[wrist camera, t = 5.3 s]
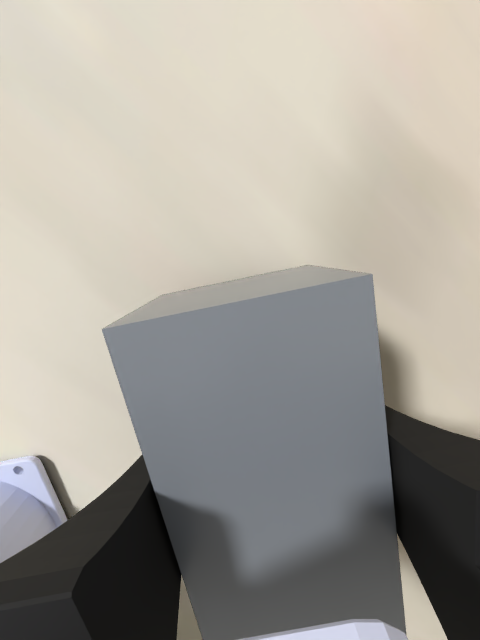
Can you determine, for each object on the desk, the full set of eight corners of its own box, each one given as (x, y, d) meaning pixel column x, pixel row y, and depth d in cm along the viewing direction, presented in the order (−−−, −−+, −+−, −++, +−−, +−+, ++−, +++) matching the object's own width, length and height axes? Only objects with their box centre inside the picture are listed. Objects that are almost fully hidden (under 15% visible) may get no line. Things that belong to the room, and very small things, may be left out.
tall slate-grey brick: (221, 515, 14) (213, 673, 9) (162, 294, 12) (102, 329, 6) (340, 493, 14) (406, 639, 9) (307, 264, 12) (372, 274, 6)
